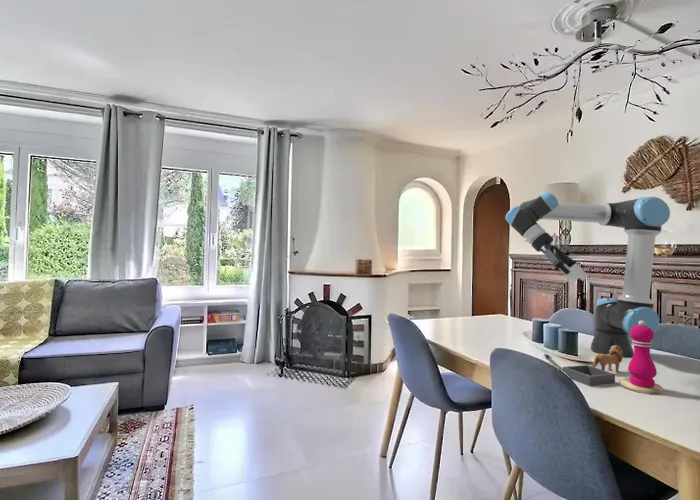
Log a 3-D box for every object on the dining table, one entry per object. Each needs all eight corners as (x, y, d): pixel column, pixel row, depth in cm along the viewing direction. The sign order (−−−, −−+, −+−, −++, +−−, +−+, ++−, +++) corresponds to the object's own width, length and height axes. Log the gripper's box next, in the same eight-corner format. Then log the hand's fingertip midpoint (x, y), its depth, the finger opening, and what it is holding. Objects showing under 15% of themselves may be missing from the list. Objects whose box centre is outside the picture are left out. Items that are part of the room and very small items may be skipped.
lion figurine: (611, 367, 146) (611, 343, 146) (626, 371, 141) (627, 346, 141) (586, 372, 139) (587, 347, 139) (602, 376, 134) (602, 350, 134)
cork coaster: (636, 380, 131) (636, 377, 131) (671, 392, 120) (671, 388, 120) (611, 383, 127) (611, 379, 127) (645, 395, 117) (645, 391, 117)
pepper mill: (624, 383, 124) (623, 319, 125) (633, 379, 128) (632, 318, 129) (652, 389, 118) (651, 323, 119) (660, 385, 122) (659, 321, 123)
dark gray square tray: (586, 373, 138) (586, 364, 138) (614, 383, 128) (615, 374, 128) (562, 375, 135) (562, 366, 135) (589, 386, 124) (589, 376, 124)
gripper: (541, 245, 164) (581, 284, 154) (519, 244, 146) (563, 288, 135) (555, 232, 160) (597, 271, 150) (535, 229, 142) (581, 273, 132)
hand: (581, 279), depth 143 cm, fingers open, 13 cm apart
